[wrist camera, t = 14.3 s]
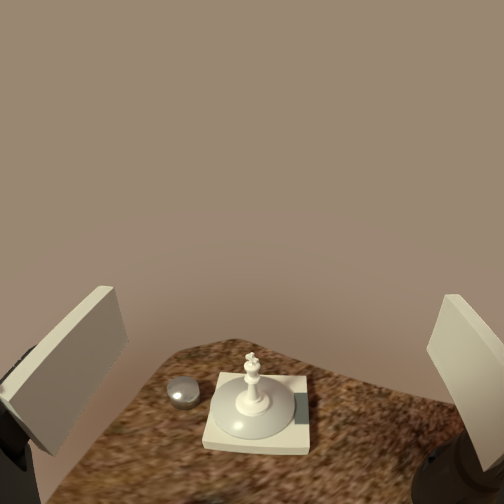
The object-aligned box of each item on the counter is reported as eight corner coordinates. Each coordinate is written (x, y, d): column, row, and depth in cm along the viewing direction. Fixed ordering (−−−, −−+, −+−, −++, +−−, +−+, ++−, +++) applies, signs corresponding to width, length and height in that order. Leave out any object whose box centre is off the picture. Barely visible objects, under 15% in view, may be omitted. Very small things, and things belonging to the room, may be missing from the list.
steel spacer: (203, 390, 43) (201, 378, 42) (197, 412, 38) (194, 400, 37) (175, 386, 43) (171, 374, 42) (166, 407, 38) (162, 396, 37)
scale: (304, 384, 43) (306, 372, 42) (307, 454, 30) (310, 444, 29) (221, 380, 45) (219, 368, 44) (204, 448, 32) (201, 437, 31)
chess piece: (250, 386, 40) (248, 336, 36) (277, 401, 37) (280, 350, 33) (228, 405, 36) (222, 355, 33) (255, 422, 33) (255, 373, 30)
